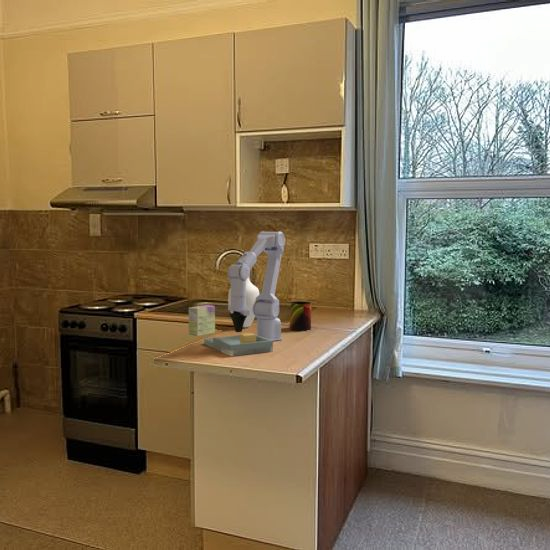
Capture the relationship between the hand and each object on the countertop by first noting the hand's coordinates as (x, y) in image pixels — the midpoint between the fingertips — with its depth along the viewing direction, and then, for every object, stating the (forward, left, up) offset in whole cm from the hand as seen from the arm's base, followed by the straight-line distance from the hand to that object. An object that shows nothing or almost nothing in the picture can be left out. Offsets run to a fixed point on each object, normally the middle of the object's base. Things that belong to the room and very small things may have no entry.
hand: (238, 331), depth 210 cm
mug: (-42, -24, -6) cm, 49 cm away
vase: (-21, -38, -6) cm, 44 cm away
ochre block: (0, +8, -4) cm, 9 cm away
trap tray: (0, -1, -6) cm, 6 cm away
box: (+2, -32, -6) cm, 33 cm away
